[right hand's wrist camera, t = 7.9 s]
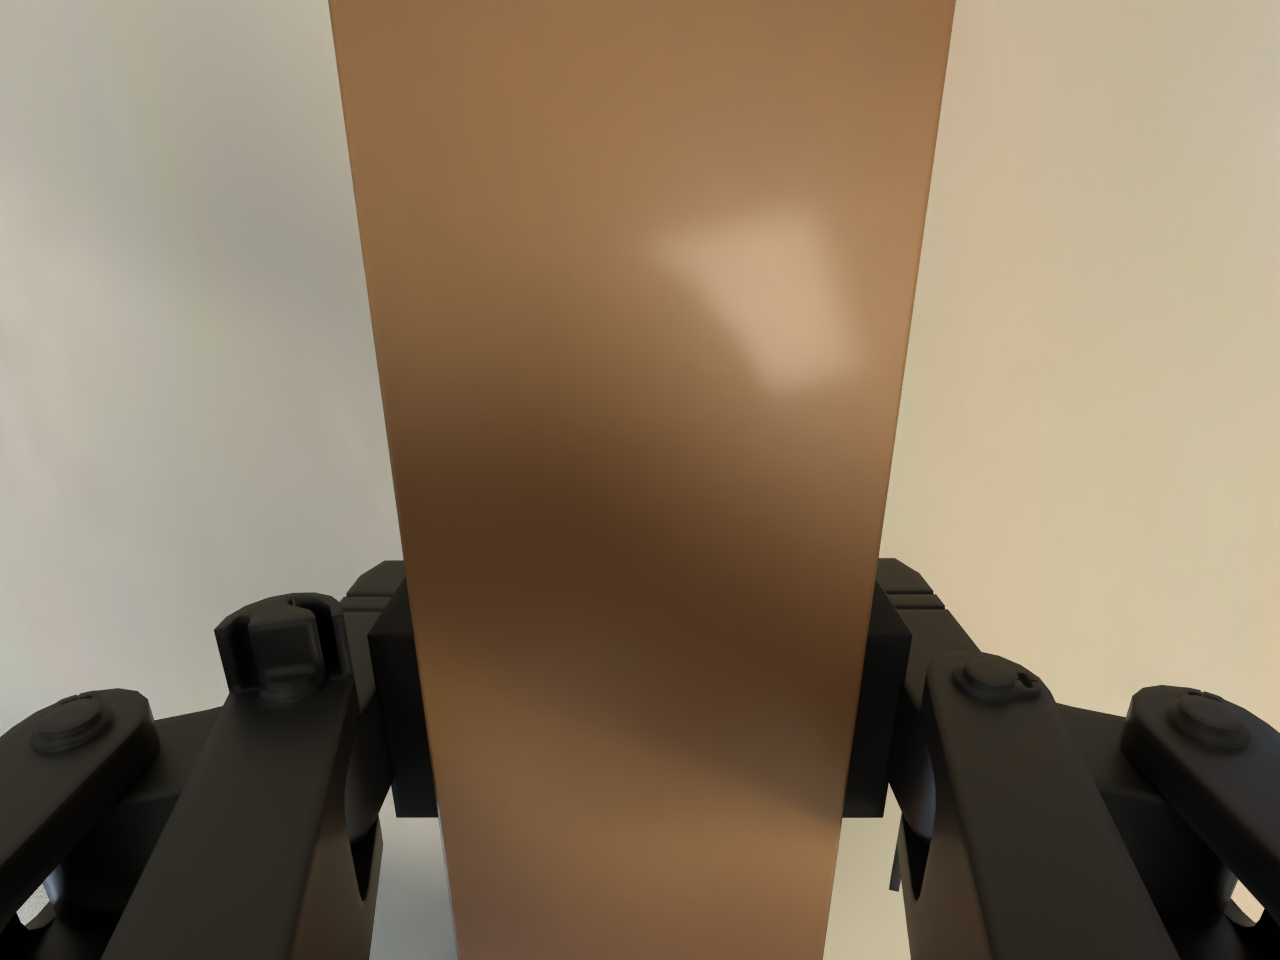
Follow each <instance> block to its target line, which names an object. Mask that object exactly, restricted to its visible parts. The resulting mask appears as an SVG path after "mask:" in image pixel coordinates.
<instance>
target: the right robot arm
mask: <svg viewBox="0 0 1280 960" xmlns="http://www.w3.org/2000/svg"><path fill="white" fill-rule="evenodd" d="M214 633H215V636H216V640H217V644H218V648H219V652H220V656H221V660H222V664H223V668H224V672H225V676H226V680H227V684H228V688H229V692H230V693H229V695H228V697H227V699H226V701H225V703H224V705H223V706H221V707H217V708H213V709H209V710H205V711H200V712H195V713H190V714H185V715H180V716H175V717H170V718H165V719H160V720H154V718H153V715H152V712H151V708H150V705H149V702H148V699H147V698H145V697H144V696H143V695H142V694H140V693H139V692H138V691H133V690H126V689H119V688H117V689H108V690H99V691H90V692H85V693H81V694H80V695H78V696H77V695H74V696H71V697H67V698H64V699H62V700H60V701H58V702H57V703H55V704H53V705H51V706H48V707H46V708H44V709H42V710H39V711H37V712H35V713H34V714H32V715H31V716H29V717H28V718H26V719H25V720H23V721H22V722H20V723H19V724H17V725H16V726H14V727H12V728H11V729H10V730H9V731H7V732H6V733H5V734H4V735H2V736H1V737H0V960H369V956H370V948H371V940H372V931H373V923H374V915H375V907H376V898H377V890H378V882H379V874H380V866H381V857H382V849H383V840H382V833H381V827H380V821H379V815H378V813H379V811H380V809H381V806H382V804H383V802H384V800H385V797H386V795H387V793H388V790H389V788H390V786H391V787H392V793H393V799H394V805H395V811H396V817H397V818H404V817H438V810H437V803H436V795H435V788H434V780H433V773H432V766H431V758H430V751H429V743H428V736H427V728H426V721H425V714H424V706H423V699H422V691H421V684H420V677H419V669H418V662H417V654H416V647H415V640H414V632H413V625H412V617H411V610H410V603H409V595H408V588H407V580H406V573H405V565H404V561H383V562H382V563H380V564H378V565H377V566H375V567H374V568H372V569H370V570H369V571H367V572H366V573H364V574H362V575H361V576H360V577H359V578H358V579H357V581H356V582H355V583H354V585H353V586H352V587H351V588H350V590H349V591H348V592H347V596H346V597H343V599H342V600H341V601H340V602H339V601H337V600H336V599H335V598H333V597H332V596H328V595H324V594H319V593H290V594H285V595H280V596H274V597H269V598H266V599H263V600H261V601H258V602H255V603H252V604H250V605H247V606H244V607H243V608H241V609H239V610H238V611H236V612H234V613H232V614H231V615H229V616H227V617H226V618H225V619H224V620H223V621H222V622H221V623H220V624H219V625H218V626H217V627H216V628H215V629H214ZM888 783H889V784H890V786H891V788H892V790H893V793H894V795H895V797H896V800H897V802H898V804H899V806H900V809H901V811H902V815H901V821H900V827H899V832H898V838H897V844H896V850H895V855H894V861H893V867H892V873H891V879H890V886H889V890H893V891H898V892H899V886H900V881H901V880H902V889H903V897H904V905H905V913H906V921H907V930H908V938H909V946H910V954H911V960H1280V733H1279V732H1278V731H1276V730H1275V729H1274V728H1273V727H1271V726H1270V725H1269V724H1267V723H1266V722H1264V721H1263V720H1261V719H1260V718H1258V717H1257V716H1255V715H1254V714H1252V713H1250V712H1249V711H1247V710H1246V709H1244V708H1242V707H1240V706H1238V705H1235V704H1233V703H1231V702H1229V701H1226V700H1224V699H1223V698H1221V697H1219V696H1217V695H1214V694H1211V693H1208V692H1205V691H1204V692H1201V690H1197V689H1192V688H1186V687H1175V686H1166V685H1159V686H1152V687H1146V688H1142V689H1141V690H1140V691H1138V692H1137V693H1136V694H1134V695H1133V696H1132V699H1131V703H1130V706H1129V709H1128V713H1127V716H1126V717H1121V716H1116V715H1111V714H1106V713H1101V712H1096V711H1091V710H1086V709H1081V708H1076V707H1071V706H1067V705H1063V704H1059V703H1056V702H1055V700H1054V698H1053V696H1052V694H1051V692H1050V691H1049V689H1048V688H1047V687H1046V686H1045V684H1044V683H1043V682H1042V681H1041V679H1040V678H1039V677H1037V676H1036V675H1035V674H1033V673H1032V672H1030V671H1029V670H1027V669H1026V668H1024V667H1023V666H1021V665H1019V664H1017V663H1015V662H1012V661H1010V660H1007V659H1005V658H1003V657H1000V656H997V655H993V654H988V653H984V652H981V651H980V650H979V649H978V647H977V646H976V645H975V643H974V642H973V641H972V640H971V638H970V637H969V636H968V635H967V633H966V632H965V631H964V630H963V628H962V627H961V626H960V624H959V623H958V622H957V621H956V619H955V618H954V617H953V616H952V614H951V613H950V612H949V610H945V605H944V604H943V603H942V602H941V600H940V599H939V598H938V596H937V595H933V590H932V589H931V588H930V586H929V585H928V584H927V582H926V581H925V580H924V579H923V577H922V576H921V575H920V574H919V573H918V572H916V571H915V570H913V569H911V568H910V567H908V566H907V565H905V564H903V563H902V562H900V561H898V560H897V559H895V558H878V564H877V571H876V578H875V586H874V593H873V600H872V607H871V614H870V622H869V629H868V636H867V643H866V650H865V658H864V665H863V672H862V679H861V687H860V694H859V701H858V708H857V715H856V723H855V730H854V737H853V744H852V751H851V759H850V766H849V773H848V780H847V787H846V795H845V802H844V809H843V816H842V818H883V814H884V808H885V802H886V795H887V789H888ZM1238 879H1239V880H1240V882H1241V883H1242V884H1243V885H1244V886H1245V887H1246V888H1247V889H1248V890H1249V891H1250V893H1251V894H1252V895H1253V896H1254V897H1255V898H1256V899H1257V900H1258V901H1259V902H1260V904H1261V905H1262V906H1263V907H1264V908H1265V909H1264V911H1263V913H1262V916H1261V918H1260V920H1259V921H1258V922H1257V923H1255V922H1253V921H1252V920H1251V919H1250V918H1249V917H1248V916H1247V915H1246V914H1245V913H1243V912H1242V910H1241V909H1240V908H1239V907H1238V906H1237V905H1236V904H1235V902H1234V901H1233V900H1232V899H1231V895H1232V893H1233V891H1234V888H1235V886H1236V883H1237V881H1238ZM42 883H43V885H44V888H45V890H46V892H47V895H48V897H49V900H50V901H49V902H48V904H47V905H46V906H45V907H44V908H43V909H42V911H41V912H40V913H39V914H38V915H37V916H36V917H35V918H34V919H32V920H31V921H30V922H29V923H28V924H26V925H25V926H24V925H23V924H22V923H21V922H20V920H19V917H18V915H17V913H16V912H17V911H18V909H19V908H20V907H21V906H22V905H23V904H24V903H25V902H26V901H27V899H28V898H29V897H30V896H31V895H32V894H33V893H34V892H35V891H36V889H37V888H38V887H39V886H40V885H41V884H42Z"/></svg>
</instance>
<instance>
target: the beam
mask: <svg viewBox="0 0 1280 960" xmlns="http://www.w3.org/2000/svg"><path fill="white" fill-rule="evenodd" d="M328 2H329V10H330V17H331V25H332V32H333V39H334V47H335V54H336V62H337V69H338V77H339V84H340V91H341V99H342V106H343V114H344V121H345V128H346V136H347V143H348V151H349V158H350V165H351V173H352V180H353V188H354V195H355V202H356V210H357V217H358V225H359V232H360V240H361V247H362V254H363V262H364V269H365V277H366V284H367V291H368V299H369V306H370V314H371V321H372V328H373V336H374V343H375V351H376V358H377V365H378V373H379V380H380V388H381V395H382V402H383V410H384V417H385V425H386V432H387V440H388V447H389V454H390V462H391V469H392V477H393V484H394V491H395V499H396V506H397V514H398V521H399V528H400V536H401V543H402V551H403V558H404V565H405V573H406V580H407V588H408V595H409V603H410V610H411V617H412V625H413V632H414V640H415V647H416V654H417V662H418V669H419V677H420V684H421V691H422V699H423V706H424V714H425V721H426V728H427V736H428V743H429V751H430V758H431V766H432V773H433V780H434V788H435V795H436V803H437V810H438V817H439V825H440V832H441V840H442V847H443V854H444V862H445V869H446V877H447V884H448V891H449V899H450V906H451V914H452V921H453V929H454V936H455V943H456V951H457V958H458V960H823V953H824V946H825V939H826V931H827V924H828V917H829V910H830V903H831V895H832V888H833V881H834V874H835V867H836V859H837V852H838V845H839V838H840V831H841V823H842V816H843V809H844V802H845V795H846V787H847V780H848V773H849V766H850V759H851V751H852V744H853V737H854V730H855V723H856V715H857V708H858V701H859V694H860V687H861V679H862V672H863V665H864V658H865V650H866V643H867V636H868V629H869V622H870V614H871V607H872V600H873V593H874V586H875V578H876V571H877V564H878V557H879V550H880V542H881V535H882V528H883V521H884V514H885V506H886V499H887V492H888V485H889V478H890V470H891V463H892V456H893V449H894V442H895V434H896V427H897V420H898V413H899V406H900V398H901V391H902V384H903V377H904V369H905V362H906V355H907V348H908V341H909V333H910V326H911V319H912V312H913V305H914V297H915V290H916V283H917V276H918V269H919V261H920V254H921V247H922V240H923V233H924V225H925V218H926V211H927V204H928V197H929V189H930V182H931V175H932V168H933V161H934V153H935V146H936V139H937V132H938V124H939V117H940V110H941V103H942V96H943V88H944V81H945V74H946V67H947V60H948V52H949V45H950V38H951V31H952V24H953V16H954V9H955V2H956V0H328Z"/></svg>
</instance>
